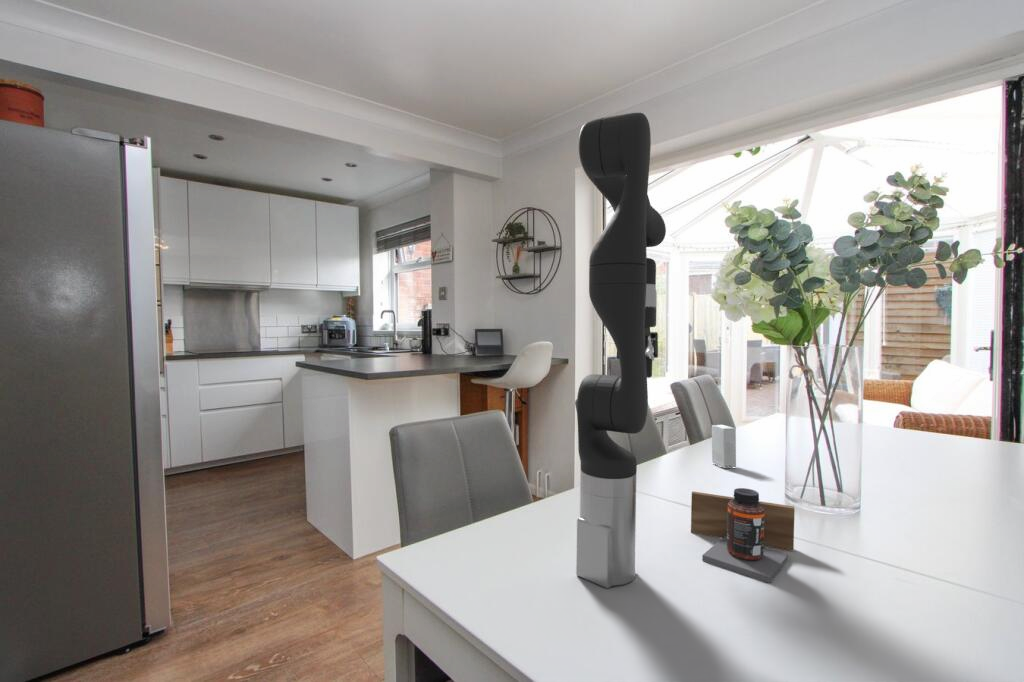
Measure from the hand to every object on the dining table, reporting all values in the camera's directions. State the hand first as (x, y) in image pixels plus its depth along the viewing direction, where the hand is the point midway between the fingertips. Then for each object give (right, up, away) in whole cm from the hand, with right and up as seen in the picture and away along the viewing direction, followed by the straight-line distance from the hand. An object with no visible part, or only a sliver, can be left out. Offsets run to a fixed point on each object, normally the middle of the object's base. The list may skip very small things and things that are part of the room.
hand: (637, 378), depth 108 cm
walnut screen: (+17, -31, -14) cm, 37 cm away
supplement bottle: (+14, -30, -22) cm, 39 cm away
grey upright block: (+35, -30, +37) cm, 59 cm away
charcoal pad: (+14, -31, -22) cm, 40 cm away
